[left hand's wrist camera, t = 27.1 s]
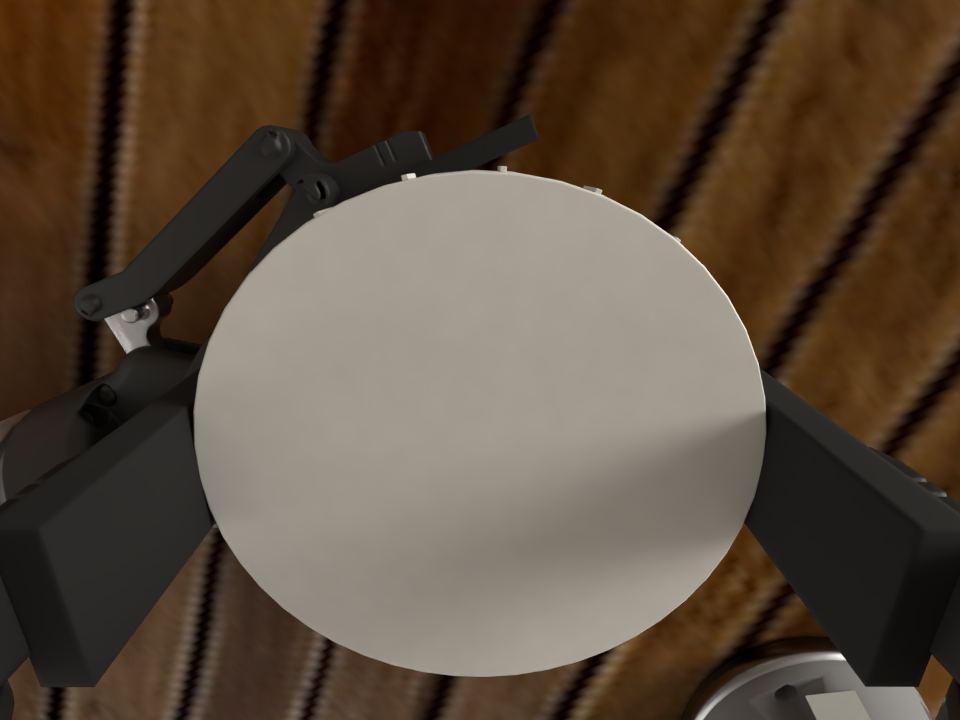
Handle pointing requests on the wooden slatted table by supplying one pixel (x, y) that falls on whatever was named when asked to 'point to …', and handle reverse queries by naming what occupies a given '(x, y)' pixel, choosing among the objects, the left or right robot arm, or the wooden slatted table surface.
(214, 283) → the wooden slatted table surface
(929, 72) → the wooden slatted table surface
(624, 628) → the lid
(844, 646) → the left robot arm
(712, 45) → the wooden slatted table surface
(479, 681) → the wooden slatted table surface
